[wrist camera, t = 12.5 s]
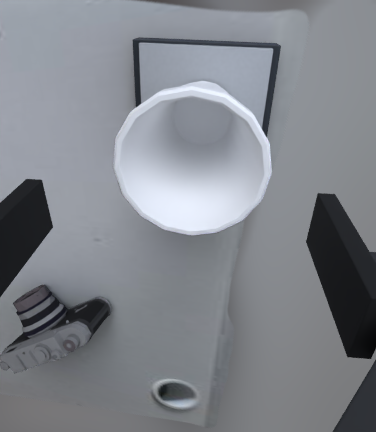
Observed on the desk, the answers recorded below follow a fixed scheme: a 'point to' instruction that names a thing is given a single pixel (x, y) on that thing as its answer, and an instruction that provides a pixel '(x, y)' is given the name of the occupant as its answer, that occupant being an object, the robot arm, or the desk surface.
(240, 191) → the cup
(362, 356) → the robot arm
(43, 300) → the camera
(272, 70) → the scale
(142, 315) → the desk surface
